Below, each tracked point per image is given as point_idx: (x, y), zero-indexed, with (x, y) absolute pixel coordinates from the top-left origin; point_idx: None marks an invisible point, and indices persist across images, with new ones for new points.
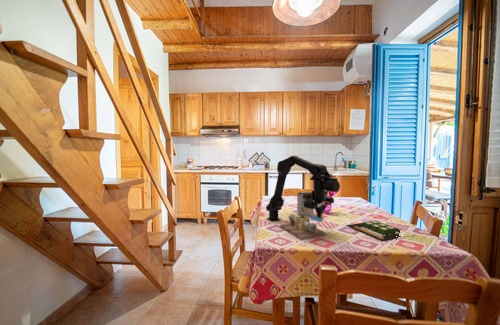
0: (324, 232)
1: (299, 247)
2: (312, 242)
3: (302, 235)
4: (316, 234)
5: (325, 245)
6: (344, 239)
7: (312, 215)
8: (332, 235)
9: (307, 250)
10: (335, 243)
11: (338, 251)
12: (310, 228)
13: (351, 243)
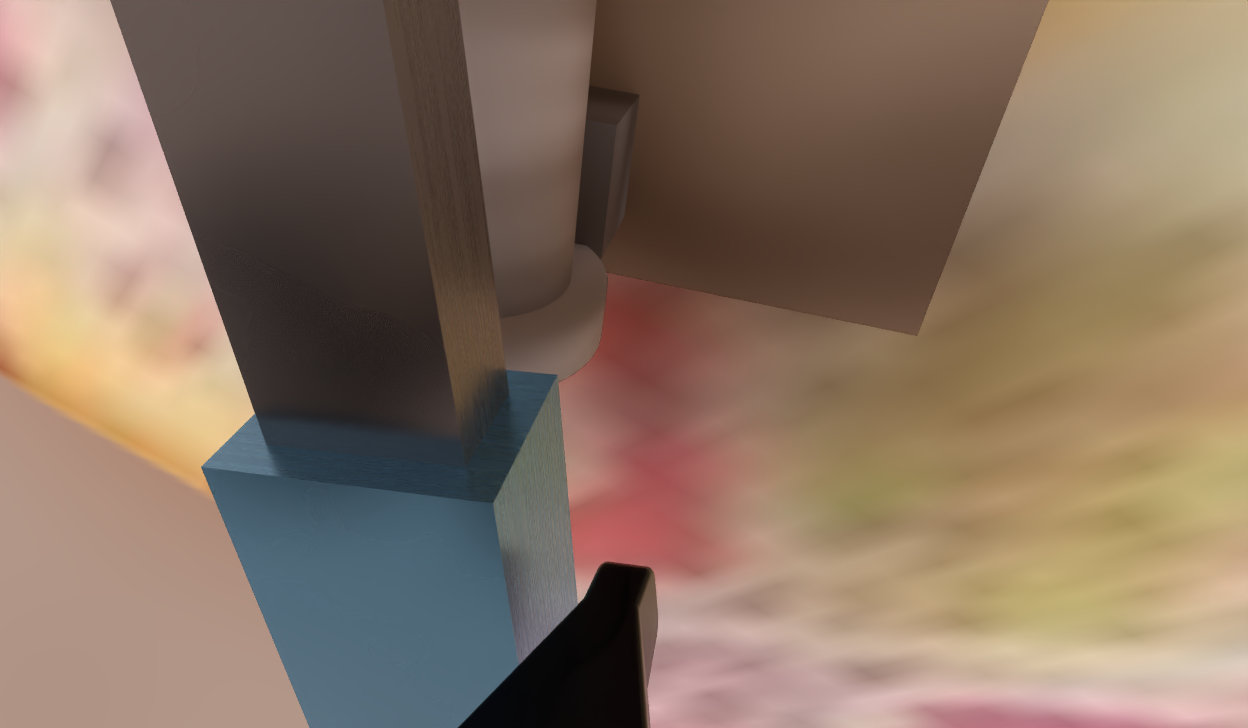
0: (888, 327)
1: (73, 341)
2: None
3: None
4: (621, 270)
5: None
6: (992, 605)
7: (268, 528)
8: (1027, 401)
9: (148, 455)
10: (691, 578)
11: None
12: None
13: (906, 704)
